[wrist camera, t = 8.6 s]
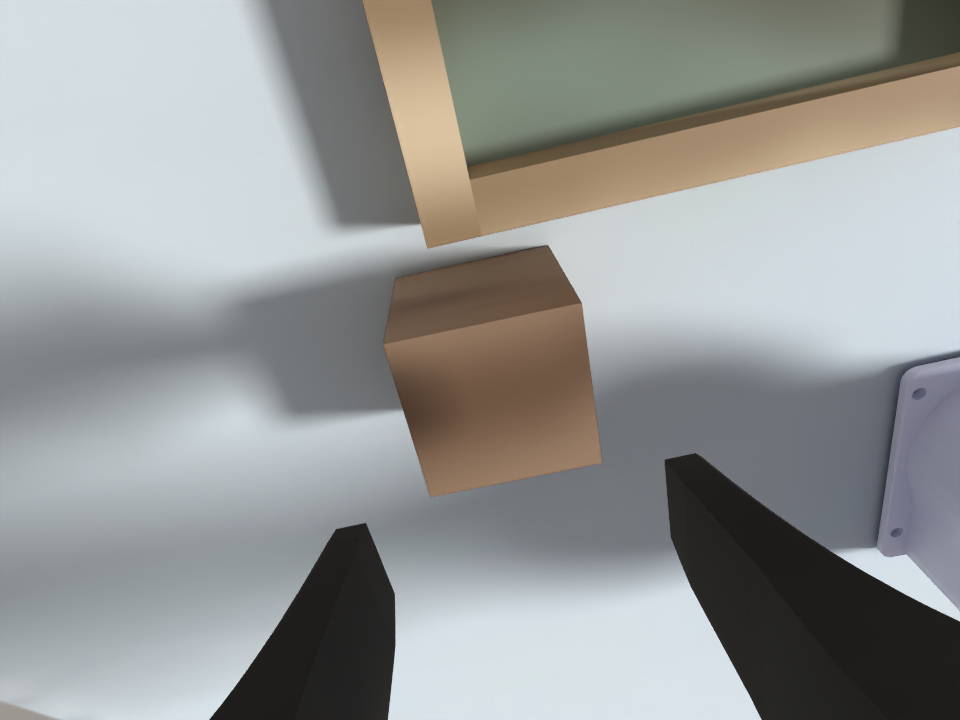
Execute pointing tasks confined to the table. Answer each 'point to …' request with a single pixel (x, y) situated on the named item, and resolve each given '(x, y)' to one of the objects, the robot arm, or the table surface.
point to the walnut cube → (493, 371)
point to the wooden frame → (645, 96)
